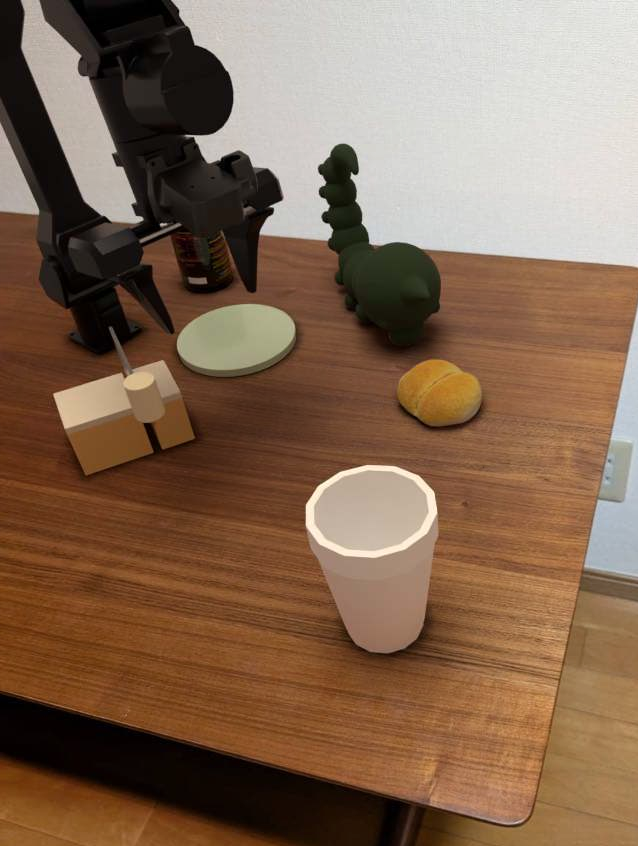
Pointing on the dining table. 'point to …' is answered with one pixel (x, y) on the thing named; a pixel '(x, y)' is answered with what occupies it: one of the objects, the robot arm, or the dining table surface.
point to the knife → (140, 390)
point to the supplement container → (202, 260)
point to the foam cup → (376, 551)
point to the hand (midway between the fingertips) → (212, 312)
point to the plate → (236, 340)
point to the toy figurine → (376, 260)
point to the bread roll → (439, 393)
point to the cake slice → (169, 408)
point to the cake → (102, 424)
